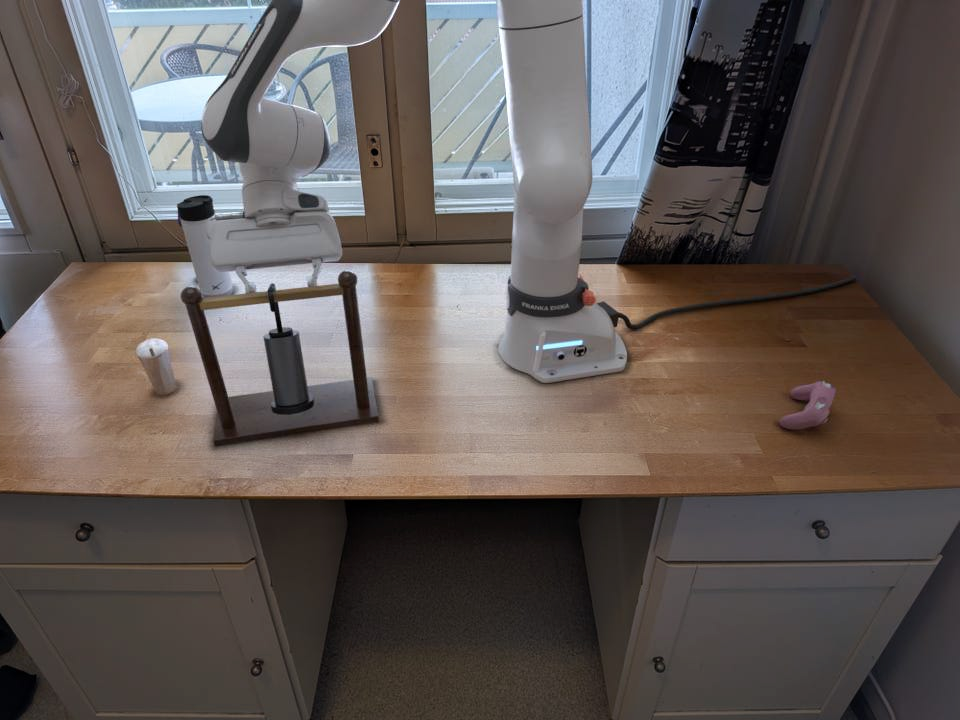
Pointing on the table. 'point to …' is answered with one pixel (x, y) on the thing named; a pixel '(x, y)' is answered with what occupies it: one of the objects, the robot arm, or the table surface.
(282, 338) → the dark cylindrical piece
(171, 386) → the milkshake
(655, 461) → the table surface
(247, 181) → the robot arm
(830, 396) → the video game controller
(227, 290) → the travel mug
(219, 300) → the rack
